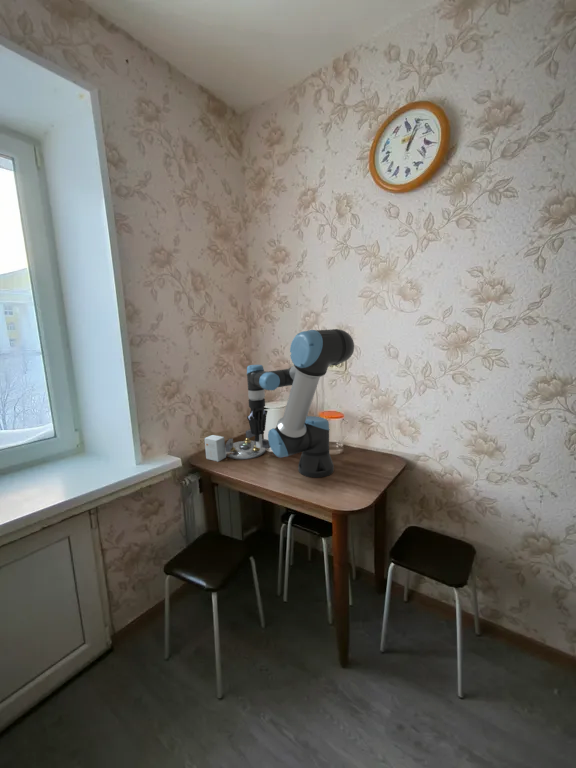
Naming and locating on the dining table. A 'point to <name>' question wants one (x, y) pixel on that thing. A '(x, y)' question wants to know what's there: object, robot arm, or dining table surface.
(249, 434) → the knob right
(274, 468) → the dining table surface
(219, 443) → the small box
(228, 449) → the knob left
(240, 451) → the plate
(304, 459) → the robot arm
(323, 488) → the dining table surface
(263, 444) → the knob near
